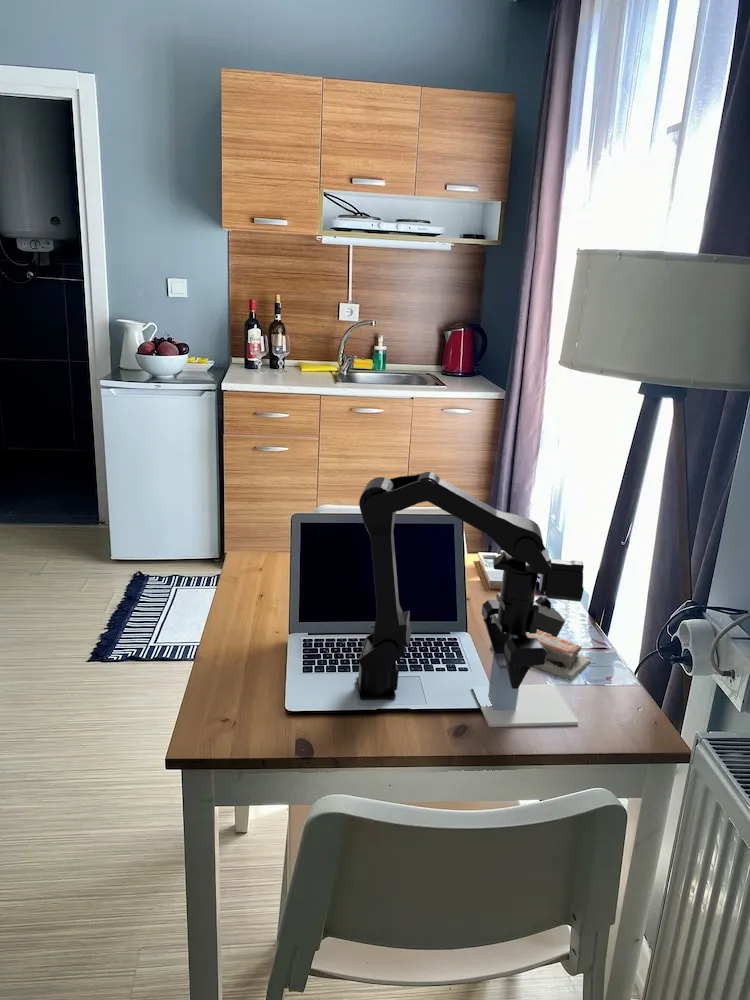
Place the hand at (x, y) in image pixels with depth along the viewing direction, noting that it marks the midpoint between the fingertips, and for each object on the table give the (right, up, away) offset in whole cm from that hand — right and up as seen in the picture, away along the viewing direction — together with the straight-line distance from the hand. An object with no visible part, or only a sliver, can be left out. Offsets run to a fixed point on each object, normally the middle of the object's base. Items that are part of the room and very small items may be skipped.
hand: (506, 673), depth 135 cm
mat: (+3, -6, +3) cm, 8 cm away
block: (-1, -6, +2) cm, 6 cm away
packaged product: (+10, -2, +21) cm, 23 cm away
